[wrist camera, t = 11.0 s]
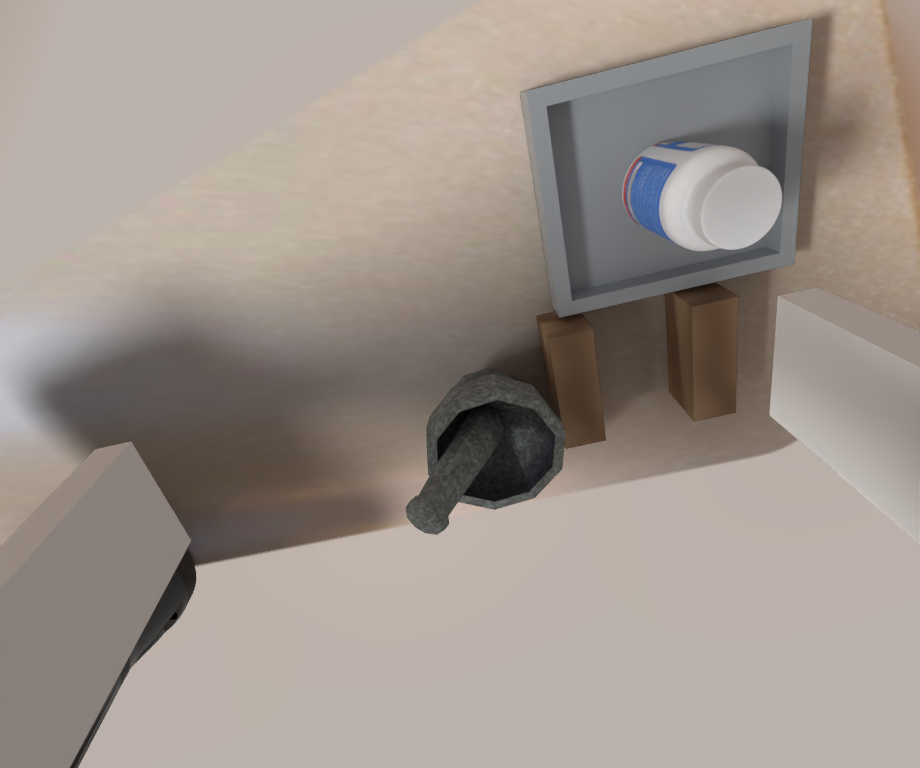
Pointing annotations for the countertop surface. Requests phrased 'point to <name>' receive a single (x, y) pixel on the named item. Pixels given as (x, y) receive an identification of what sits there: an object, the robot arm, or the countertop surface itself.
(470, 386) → the mortar and pestle
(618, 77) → the tray
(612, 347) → the countertop surface
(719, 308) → the slot holder
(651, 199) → the pill bottle
